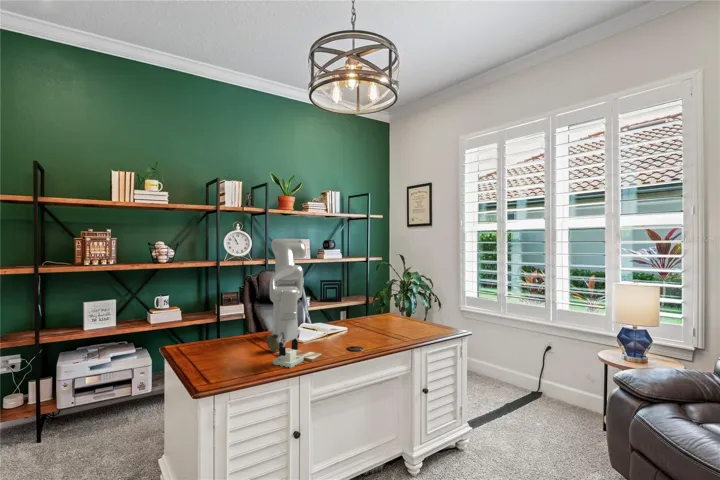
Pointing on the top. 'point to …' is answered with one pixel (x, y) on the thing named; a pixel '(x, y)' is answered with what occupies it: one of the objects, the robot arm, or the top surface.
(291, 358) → the block
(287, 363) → the tray
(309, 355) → the track
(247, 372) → the top surface
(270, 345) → the dark bronze flared dome
